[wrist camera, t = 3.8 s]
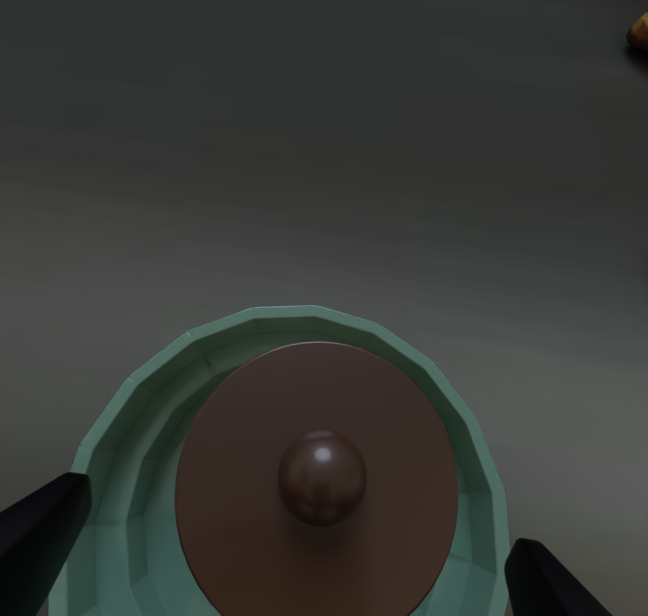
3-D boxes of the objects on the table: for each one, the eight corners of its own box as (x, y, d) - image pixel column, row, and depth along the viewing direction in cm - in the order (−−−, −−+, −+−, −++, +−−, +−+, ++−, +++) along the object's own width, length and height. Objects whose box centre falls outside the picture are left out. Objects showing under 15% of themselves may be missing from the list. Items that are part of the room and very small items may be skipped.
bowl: (526, 597, 15) (603, 641, 11) (164, 838, 12) (106, 1011, 8) (367, 296, 19) (386, 257, 16) (73, 411, 16) (9, 395, 12)
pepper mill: (374, 498, 15) (590, 587, 4) (267, 555, 14) (195, 859, 3) (327, 393, 17) (400, 260, 6) (227, 437, 16) (86, 377, 5)
